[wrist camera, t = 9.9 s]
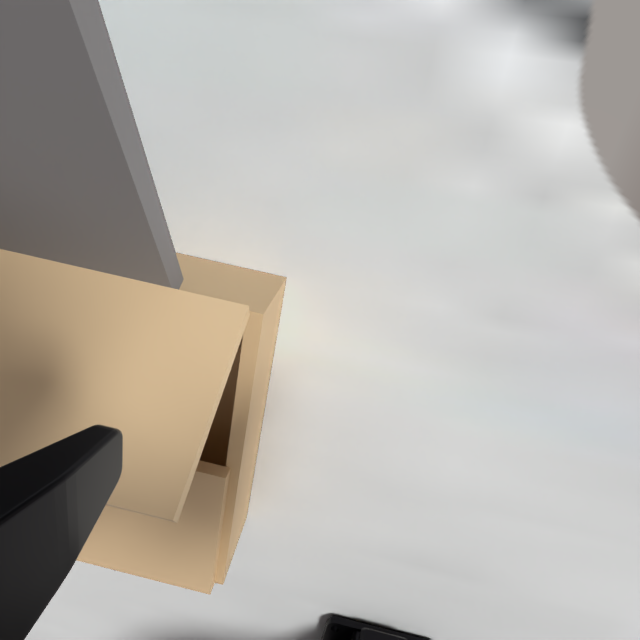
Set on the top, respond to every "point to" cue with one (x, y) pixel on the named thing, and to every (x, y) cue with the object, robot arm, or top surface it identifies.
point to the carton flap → (95, 268)
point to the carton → (206, 452)
